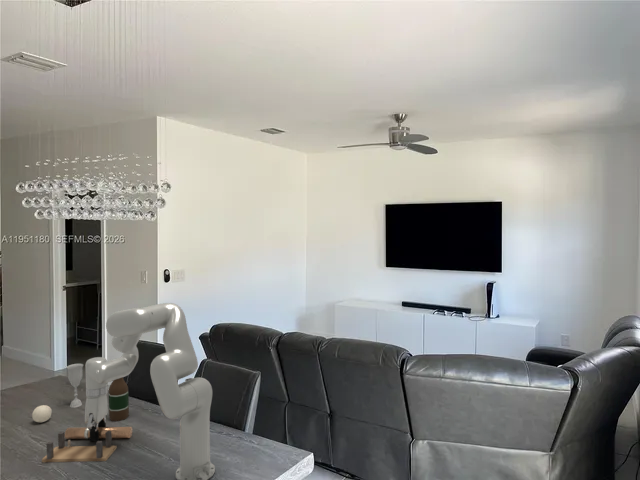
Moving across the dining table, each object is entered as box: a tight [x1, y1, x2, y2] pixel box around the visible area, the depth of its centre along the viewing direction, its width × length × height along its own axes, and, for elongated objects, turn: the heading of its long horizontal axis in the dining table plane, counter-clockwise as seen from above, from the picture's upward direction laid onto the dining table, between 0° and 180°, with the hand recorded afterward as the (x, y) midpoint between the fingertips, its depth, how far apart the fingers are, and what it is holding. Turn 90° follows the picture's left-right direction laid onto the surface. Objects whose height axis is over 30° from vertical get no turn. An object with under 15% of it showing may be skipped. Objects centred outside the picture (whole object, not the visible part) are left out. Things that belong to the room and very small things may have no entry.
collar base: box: [41, 431, 117, 463], centre depth 165 cm, size 22×9×6 cm, turn 92°
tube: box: [64, 426, 133, 440], centre depth 178 cm, size 24×4×4 cm, turn 92°
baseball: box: [31, 404, 53, 423], centre depth 192 cm, size 7×7×7 cm
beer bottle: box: [108, 377, 130, 422], centre depth 195 cm, size 8×8×24 cm
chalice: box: [66, 363, 84, 408], centre depth 209 cm, size 7×7×18 cm
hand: (97, 436), depth 177 cm, fingers open, 5 cm apart
